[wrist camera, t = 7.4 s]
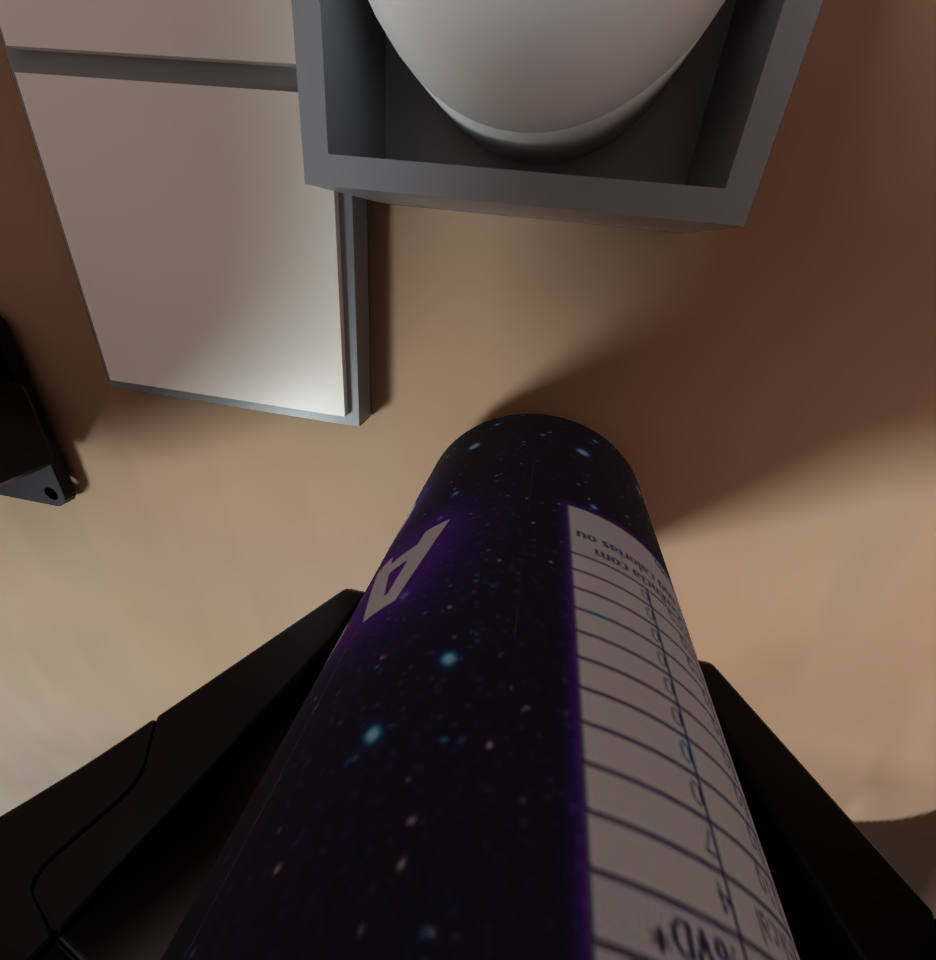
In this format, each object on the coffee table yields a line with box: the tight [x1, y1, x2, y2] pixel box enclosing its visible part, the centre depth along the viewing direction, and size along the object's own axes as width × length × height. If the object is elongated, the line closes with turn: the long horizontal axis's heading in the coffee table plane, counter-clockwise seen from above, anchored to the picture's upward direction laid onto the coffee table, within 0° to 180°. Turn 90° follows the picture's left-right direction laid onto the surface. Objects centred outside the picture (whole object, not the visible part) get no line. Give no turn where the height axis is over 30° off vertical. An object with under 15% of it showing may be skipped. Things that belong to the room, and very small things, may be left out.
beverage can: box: [161, 414, 800, 960], centre depth 7 cm, size 6×6×12 cm
